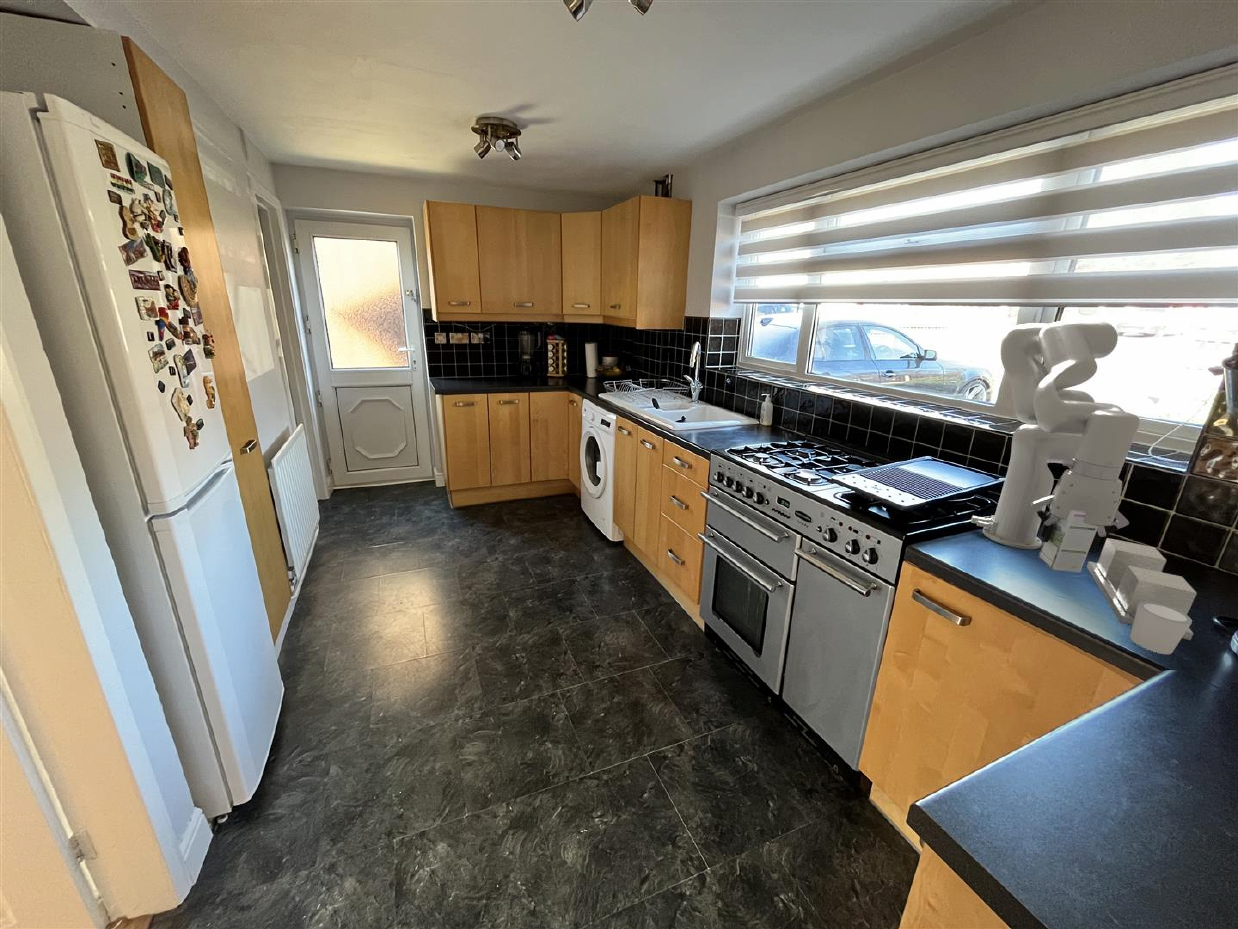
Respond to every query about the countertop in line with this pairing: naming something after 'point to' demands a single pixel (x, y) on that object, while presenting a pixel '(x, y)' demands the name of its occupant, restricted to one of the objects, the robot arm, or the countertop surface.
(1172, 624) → the grey mug
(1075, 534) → the syrup box
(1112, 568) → the board
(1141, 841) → the countertop surface
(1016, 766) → the countertop surface
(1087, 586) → the countertop surface
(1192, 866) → the countertop surface
